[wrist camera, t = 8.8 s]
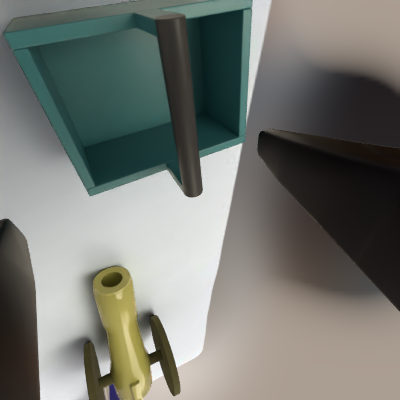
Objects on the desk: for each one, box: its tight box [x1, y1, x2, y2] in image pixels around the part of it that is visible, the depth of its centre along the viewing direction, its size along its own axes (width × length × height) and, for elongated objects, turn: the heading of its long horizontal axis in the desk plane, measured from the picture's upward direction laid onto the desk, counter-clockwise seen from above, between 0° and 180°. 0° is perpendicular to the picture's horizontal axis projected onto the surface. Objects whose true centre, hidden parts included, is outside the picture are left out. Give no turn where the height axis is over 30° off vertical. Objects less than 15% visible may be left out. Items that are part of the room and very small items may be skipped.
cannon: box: [84, 267, 180, 400], centre depth 33 cm, size 25×12×11 cm, turn 173°
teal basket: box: [3, 0, 252, 197], centre depth 15 cm, size 9×12×10 cm
